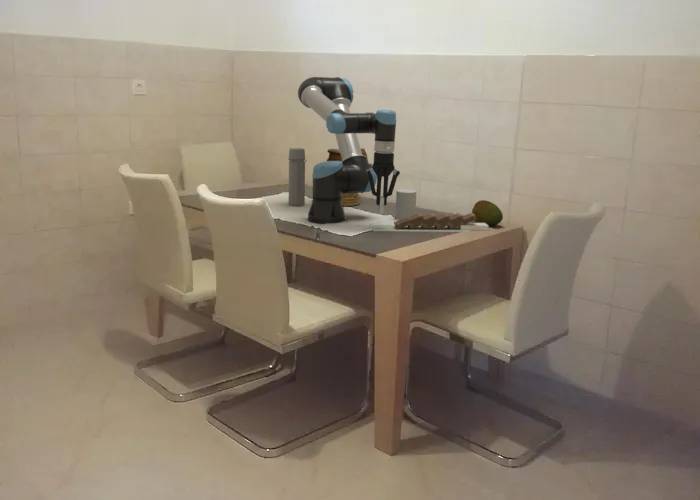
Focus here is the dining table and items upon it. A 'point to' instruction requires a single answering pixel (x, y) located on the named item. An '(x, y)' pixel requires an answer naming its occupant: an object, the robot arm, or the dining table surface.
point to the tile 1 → (409, 221)
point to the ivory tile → (474, 226)
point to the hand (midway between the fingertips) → (380, 213)
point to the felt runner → (414, 229)
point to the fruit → (487, 213)
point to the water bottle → (296, 176)
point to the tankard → (346, 198)
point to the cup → (405, 203)
